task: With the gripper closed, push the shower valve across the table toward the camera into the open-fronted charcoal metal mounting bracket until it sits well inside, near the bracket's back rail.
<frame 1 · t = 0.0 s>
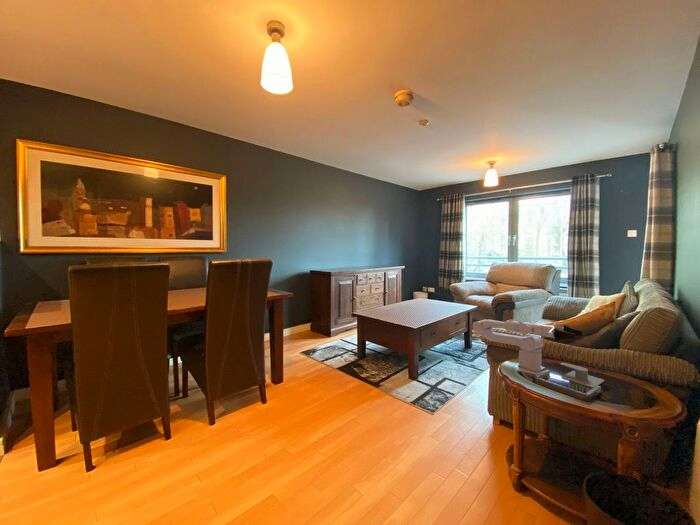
hand: (578, 334, 130), 22 cm above the table, tool horizontal, fingers open, 7 cm apart
shower valve: (579, 379, 135), on the table
mounting bracket: (565, 386, 127), on the table
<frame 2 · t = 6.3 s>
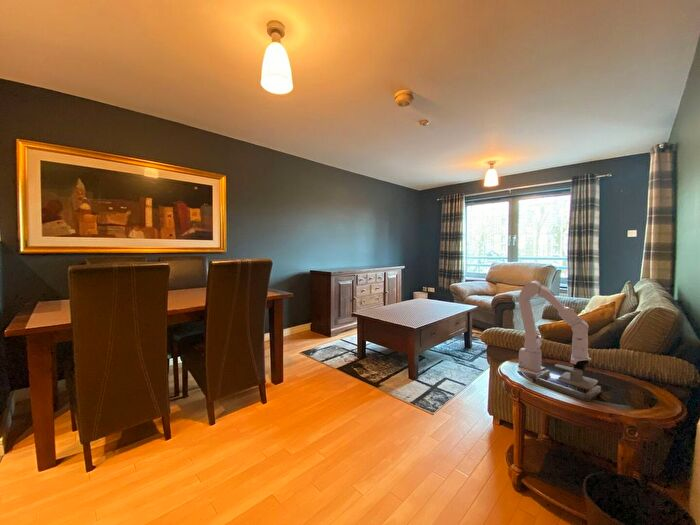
hand: (579, 375, 135), 1 cm above the table, tool pointing down, fingers closed
shower valve: (574, 381, 133), on the table, touching gripper
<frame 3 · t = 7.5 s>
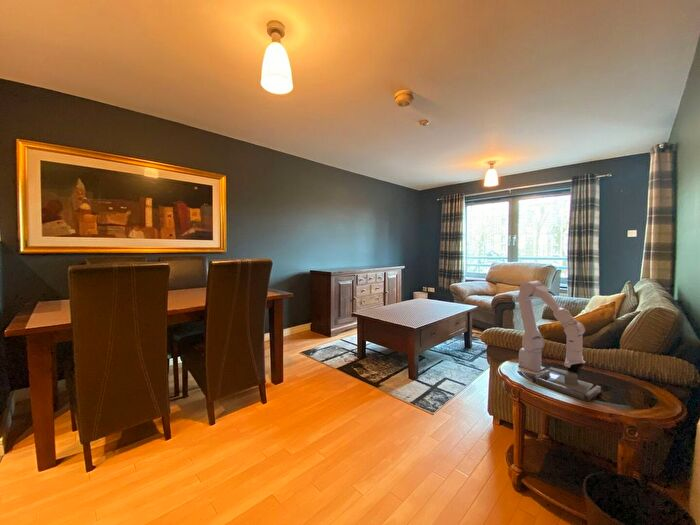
hand: (573, 378, 131), 1 cm above the table, tool pointing down, fingers closed
shower valve: (568, 384, 130), on the table, touching gripper
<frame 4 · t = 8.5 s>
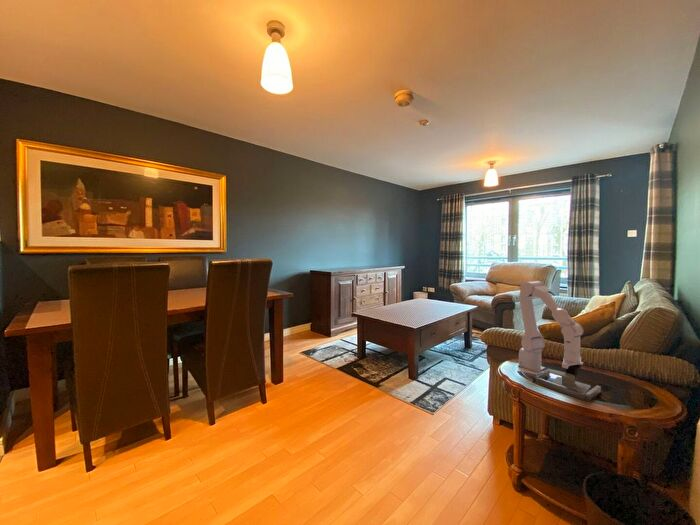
hand: (571, 380, 130), 1 cm above the table, tool pointing down, fingers closed
shower valve: (566, 386, 129), on the table
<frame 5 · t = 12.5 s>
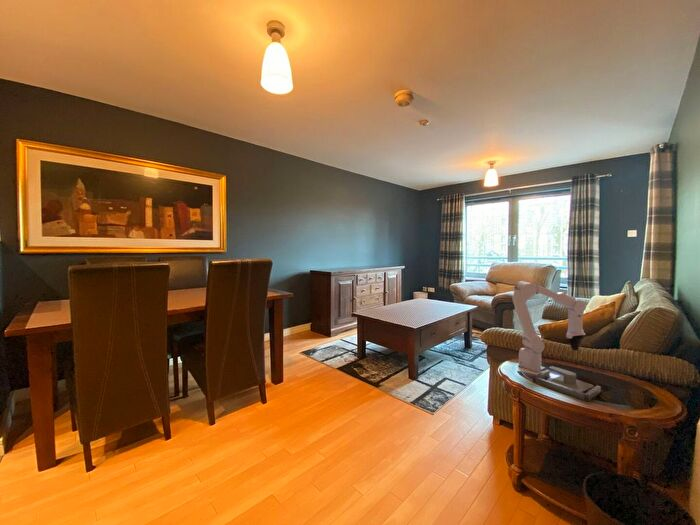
hand: (574, 349, 145), 9 cm above the table, tool pointing down, fingers closed
shower valve: (567, 384, 131), on the table
at the end: shower valve inside the target area (3.7 cm from its centre), on the table; shower valve moved 9.6 cm from its start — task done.
